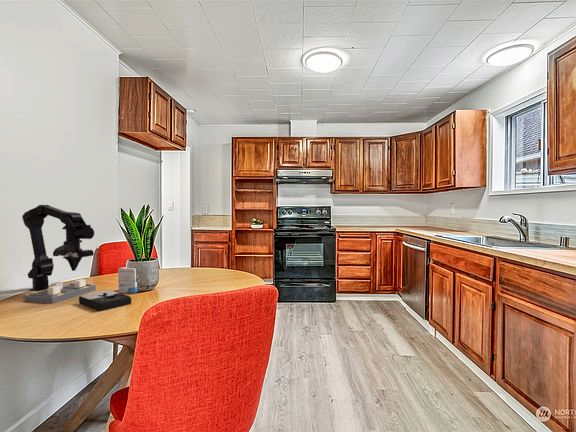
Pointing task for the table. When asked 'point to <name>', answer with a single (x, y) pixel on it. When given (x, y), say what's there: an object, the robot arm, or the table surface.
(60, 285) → the tab
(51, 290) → the tab
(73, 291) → the switch bank
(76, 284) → the tab
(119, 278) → the ink box
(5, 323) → the table surface
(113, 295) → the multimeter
